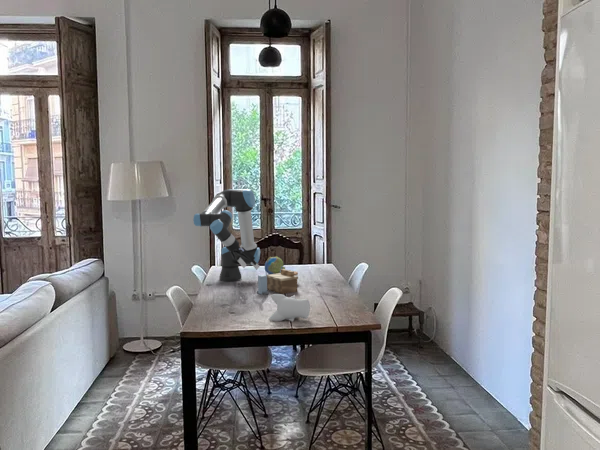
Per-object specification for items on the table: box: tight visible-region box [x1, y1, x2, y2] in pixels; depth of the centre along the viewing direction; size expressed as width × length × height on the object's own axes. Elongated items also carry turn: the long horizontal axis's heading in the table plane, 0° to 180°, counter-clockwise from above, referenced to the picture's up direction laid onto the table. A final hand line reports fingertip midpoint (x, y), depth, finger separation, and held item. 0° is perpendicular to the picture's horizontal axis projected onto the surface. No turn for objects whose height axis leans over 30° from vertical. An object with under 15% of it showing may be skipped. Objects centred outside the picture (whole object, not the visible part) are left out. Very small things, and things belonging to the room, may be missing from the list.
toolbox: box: [267, 277, 298, 295], centre depth 332 cm, size 16×12×8 cm
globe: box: [264, 255, 286, 275], centre depth 385 cm, size 14×16×15 cm
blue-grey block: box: [257, 274, 268, 296], centre depth 324 cm, size 4×4×11 cm
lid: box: [265, 268, 299, 281], centre depth 332 cm, size 17×13×4 cm
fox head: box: [268, 293, 311, 322], centre depth 268 cm, size 13×17×20 cm
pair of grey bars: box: [256, 290, 270, 296], centre depth 324 cm, size 8×4×1 cm, turn 35°
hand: (251, 267), depth 319 cm, fingers open, 13 cm apart
